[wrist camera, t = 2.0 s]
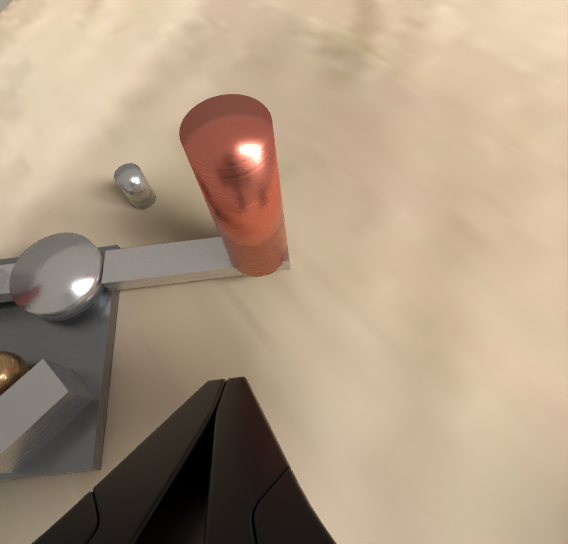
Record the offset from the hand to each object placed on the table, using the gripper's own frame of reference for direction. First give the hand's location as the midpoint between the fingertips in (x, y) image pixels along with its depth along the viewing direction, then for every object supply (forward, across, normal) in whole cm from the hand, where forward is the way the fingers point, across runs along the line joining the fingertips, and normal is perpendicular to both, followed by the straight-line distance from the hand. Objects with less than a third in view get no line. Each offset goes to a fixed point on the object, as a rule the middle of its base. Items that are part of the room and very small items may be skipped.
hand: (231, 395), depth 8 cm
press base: (+13, +12, +3) cm, 18 cm away
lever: (+13, +8, +1) cm, 16 cm away
